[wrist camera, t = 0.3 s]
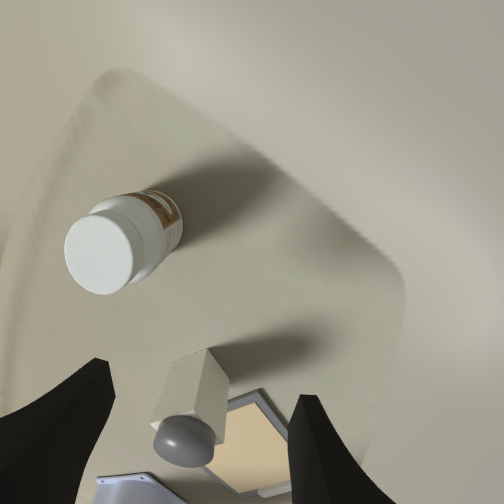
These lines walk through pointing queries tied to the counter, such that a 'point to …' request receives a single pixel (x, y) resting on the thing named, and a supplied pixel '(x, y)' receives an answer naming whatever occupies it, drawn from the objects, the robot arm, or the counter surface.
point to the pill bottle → (122, 240)
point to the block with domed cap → (191, 411)
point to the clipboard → (252, 450)
